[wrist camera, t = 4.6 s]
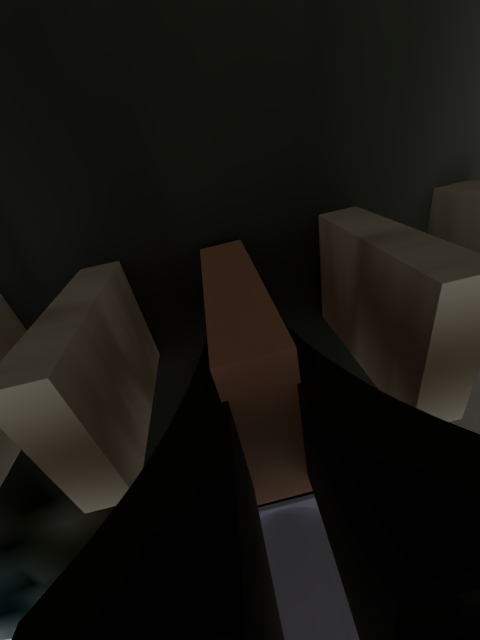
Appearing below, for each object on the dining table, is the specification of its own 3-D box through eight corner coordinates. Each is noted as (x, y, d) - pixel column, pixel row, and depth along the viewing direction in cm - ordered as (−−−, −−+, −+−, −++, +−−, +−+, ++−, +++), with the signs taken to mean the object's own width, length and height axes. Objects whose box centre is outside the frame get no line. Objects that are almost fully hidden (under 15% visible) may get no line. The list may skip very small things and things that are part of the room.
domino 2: (352, 308, 15) (461, 418, 9) (322, 315, 15) (411, 431, 9) (355, 206, 12) (514, 266, 6) (318, 214, 12) (442, 283, 6)
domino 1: (159, 354, 15) (138, 500, 9) (128, 361, 14) (85, 513, 9) (119, 260, 12) (47, 377, 6) (80, 269, 12) (-31, 397, 6)
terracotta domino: (261, 341, 14) (314, 490, 8) (228, 350, 14) (257, 505, 8) (240, 239, 11) (296, 347, 5) (199, 249, 11) (209, 368, 5)
